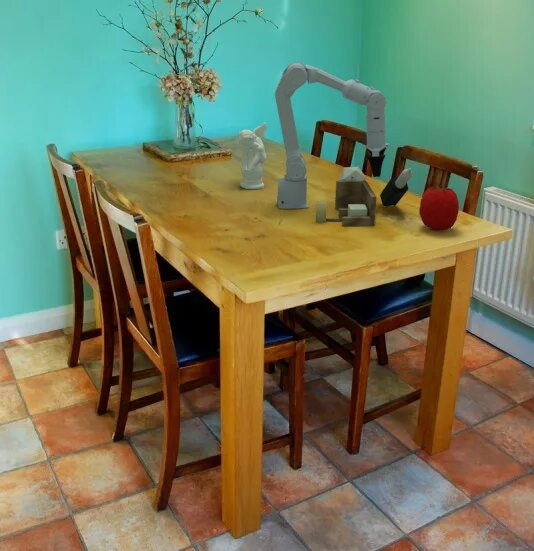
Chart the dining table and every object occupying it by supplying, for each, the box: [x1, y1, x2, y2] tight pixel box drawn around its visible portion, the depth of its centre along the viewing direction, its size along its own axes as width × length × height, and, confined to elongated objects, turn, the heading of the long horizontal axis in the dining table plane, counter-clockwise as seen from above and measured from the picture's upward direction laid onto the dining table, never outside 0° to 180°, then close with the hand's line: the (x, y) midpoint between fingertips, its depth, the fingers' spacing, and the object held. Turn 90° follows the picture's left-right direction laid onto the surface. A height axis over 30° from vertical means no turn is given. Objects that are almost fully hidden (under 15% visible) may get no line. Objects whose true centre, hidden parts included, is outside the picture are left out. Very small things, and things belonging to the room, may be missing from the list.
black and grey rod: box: [379, 167, 413, 208], centre depth 211 cm, size 5×5×25 cm
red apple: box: [418, 183, 460, 232], centre depth 201 cm, size 12×12×13 cm
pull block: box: [315, 200, 367, 224], centre depth 208 cm, size 15×5×6 cm, turn 92°
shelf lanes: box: [334, 180, 377, 227], centre depth 211 cm, size 10×17×9 cm, turn 2°
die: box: [337, 166, 367, 181], centre depth 238 cm, size 8×9×10 cm
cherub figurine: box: [238, 121, 268, 190], centre depth 241 cm, size 12×12×22 cm
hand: (377, 173), depth 219 cm, fingers open, 7 cm apart
